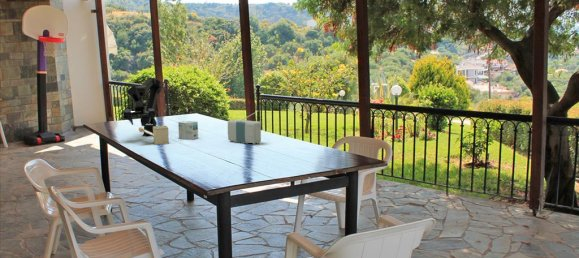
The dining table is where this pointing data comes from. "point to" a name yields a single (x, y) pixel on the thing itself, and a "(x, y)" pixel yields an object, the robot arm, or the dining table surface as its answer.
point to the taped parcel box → (244, 131)
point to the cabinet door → (145, 131)
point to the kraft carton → (160, 135)
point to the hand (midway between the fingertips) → (140, 124)
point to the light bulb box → (188, 130)
